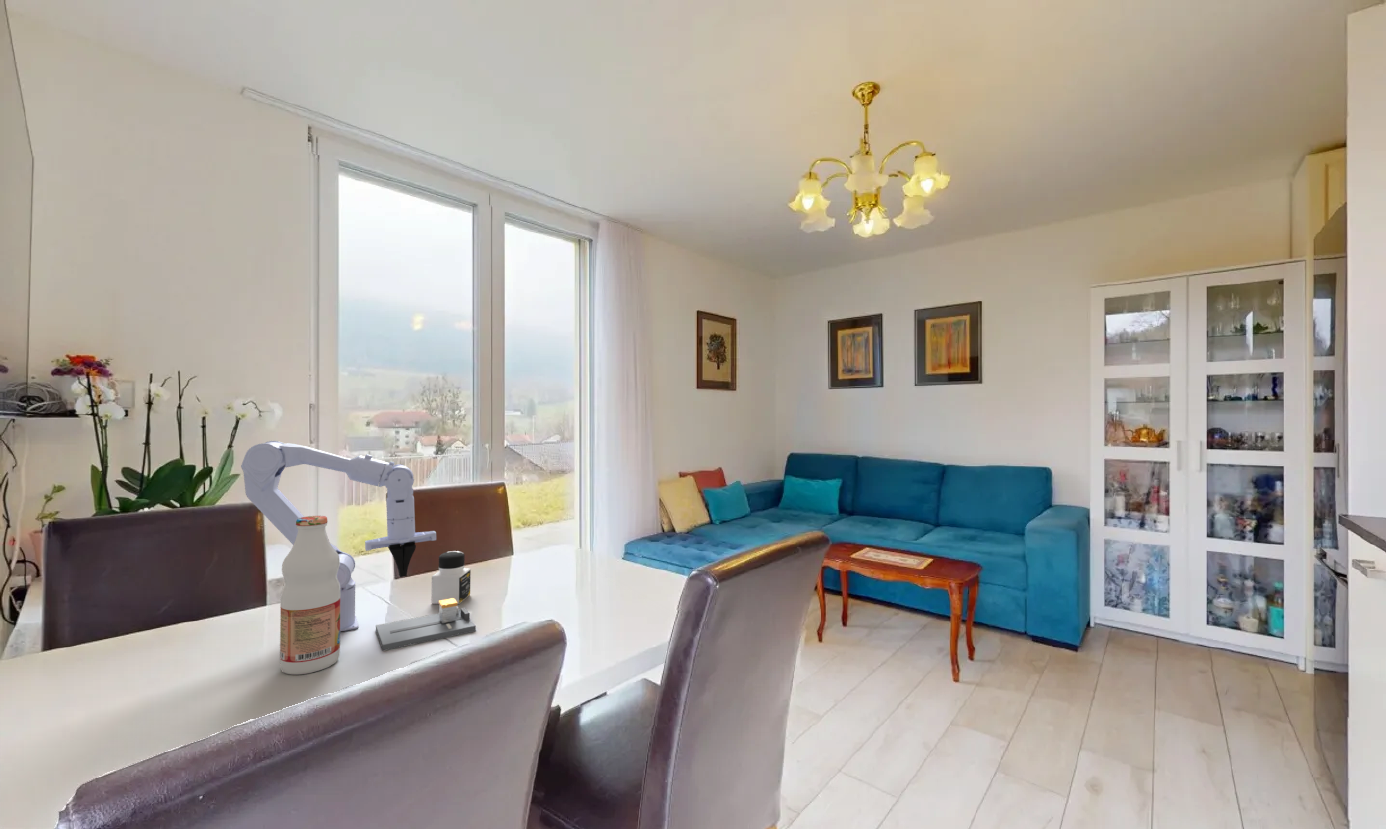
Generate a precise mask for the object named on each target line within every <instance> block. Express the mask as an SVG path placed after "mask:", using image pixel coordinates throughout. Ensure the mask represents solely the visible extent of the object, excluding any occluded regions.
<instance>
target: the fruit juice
mask: <svg viewBox="0 0 1386 829" xmlns="http://www.w3.org/2000/svg"><path fill="white" fill-rule="evenodd" d="M326 526H328V517H327V516H326V515H309V516H304V517H302V518H298V519H297V520H296V528H297V529H298V534H297V537H296V540H295V542H294V545H293V544H292V548H291V549H290V551H289V552H288V554H287V555H286V557H284V559H283V561H282V565H281V574H282V577H283V580H284V585H283V587H282V590H281V594H280V601H279V602H280V603H279V604H280V605H279V606H280V616H279V617H280V619H279V620H280V627H279V628H280V632H279V633H280V634H279V635H280V636H279V640H280V641H279V642H280V643H279V646H280V647H279V648H280V649H279V666H280V670H281V672H283V673H284V674H287V675H296V676H297V675H305V674H306V675H307V674H311V673H315V672H318V671H322V670H324V669H327V668H328V667H331V666H332V665H335V663H337V661H339V658H340V653H341V631H340V595H341V594H340V583H339V581H338V579H337V572H338V569H339V565H340V558H339V555H338V553H337V552H336V551H335V549H334V548H333V547H332V546H331V544H332V543H331V542H330V540H329V538H328V533H327V530H326ZM330 543H331V544H330Z"/></svg>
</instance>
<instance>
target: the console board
mask: <svg viewBox="0 0 1386 829" xmlns="http://www.w3.org/2000/svg"><path fill="white" fill-rule="evenodd" d="M470 617H471V615H470V611H469V610H468V609H467V607H461V608H459V605H457V612H456V621H452V622H446V623H441V621H440V620H439V612H438V613H434V614H429V615H424V616H418V617H417V616H416V617H412V618H406V619H402V620H396V621H391V622H385V623H380V624H376V625H375V632H376V635H377V638H378V641H379V644H380V647H381V649H382V651H388V650H392V649H397V648H401V647H408V646H410V645H411V646H413V645H416V644H420V643H425V642H426V643H427V642H430V641H435V640H440V639H444V638H450V637H453V636H458V635H459V636H460V635H464V634H468V633H473V632H476V631H477V630H476V629H477V626H476V624H475V622H474V621H473V620H472V619H471V618H470Z"/></svg>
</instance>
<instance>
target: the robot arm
mask: <svg viewBox="0 0 1386 829" xmlns="http://www.w3.org/2000/svg"><path fill="white" fill-rule="evenodd" d="M300 465H308V466H312V467H316V468H317V467H318V468H323V469H328V470H332V471H335V472H339V473H340V472H341V473H345V474H346V475H347V477H348V478H349V480H350V481H354V482H359V483H362V484H366V485H370V486H375V487H378V488H379V487H380V488H381V487H385V488H386V492H387V493H386V496H387V498H386V500H385V501H386V504H385V505H386V532H387V534H386V535H387V536H383V537H378V538H372V539H368V540H365V541H364V546H365V547H364V548H365V551H366V552H367V551H372V550H376V549H383V548H388V551H389V552H390V553H391V555H392V558H393V560H394V561H395V564H396V568H397V571H398V576H399V578H404V577H407V576H408V569H409V565H410V562H411V559H412V557H413V554H414V552H415V551H416V548H417V545H416V543H417V544H418V543H423V542H429V541H431V542H433V541H437V532H436V531H435V530H430V531H420V532H419V531H418V532H416V520H415V517H416V515H415V514H416V513H415V497H414V488H413V485H414V482H415V479H414V472H413V470H412V469H411V468H410V467H408V466H407V465H404V464H403V463H402V464H401V463H400V464H399V463H398V464H395V461H391V460H390V461H389V462H387V461H383V460H381V459H375V458H373V455H372V454H365V455H364V456H363V455H357V456H356V457H355V456H354V457H353V458H348V457H345V456H341V455H338V454H335V453H331V452H327V451H324V450H320V449H316V448H313V447H309V446H307V445H302V444H298V443H297V444H296V443H291V442H286V443H285V442H281V441H279V440H269V441H266V442H263V443H257V444H255V445H253V446H251V447H249V449H248V450H247V451H246V452H245V455H244V457H243V460H242V463H241V465H240V468H241V470H242V473H243V480H244V481H243V482H244V490H245V491H244V492H245V496H246V497H247V498H248V500H249V501H250V502H251V503H252V504H253V505H254V506H255V507H256V508H257V509H258V510H259V511H260V512H261V514H262V515H264V516H265V517H266V518H267V519H268V521H269V522H271V524H272V525H274V527H275V528H276V529H277V530H278V531H279V532H280V533H281V534H282V535H283V536H284V538H286V539H287V540H288V542H289V543H291V545H292V546H293V545H294V542H295V540H296V537H297V534H298V529H297V528H296V520H297V519H298V518H302V517H305V516H304V515H303V514H302V512H301V511H300V510H299V509H298V508H297V507H296V506H295V505H294V504H293V503H292V502H291V501H290V499H289V498H287V497H286V496H285V494H284V493H283V492H282V491H281V490H280V489H279V483H280V480H281V477H282V474H283V471H284V469H286V468H291V467H295V466H300ZM330 544H331V546H332V547H333V548H334V549H335V551H336V552H337V553H338V555H339V558H340V565H339V569H338V572H337V579H338V581H339V583H340V594H341V595H340V632H344V631H350V630H351V631H352V630H356V629H358V628H359V622H358V619H357V616H356V581H355V580H354V579H353V578H352V574H353V572H354V571H355V568H356V561H355V558H354V557H353V556H352V555H351V554H349V553H347V552H344V551H342V550H340V549H339V548H338V547H337V545H334V544H333V543H331V542H330Z"/></svg>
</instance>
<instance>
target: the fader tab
mask: <svg viewBox="0 0 1386 829" xmlns="http://www.w3.org/2000/svg"><path fill="white" fill-rule="evenodd" d="M457 606H458V604H457V602H456V600H455V599H454V598H451V599H445V600H439V604H438V607H439V610H438V611H439V612H438V613H439V620H440V621H441V623H446V622H452V621H456V612H457Z"/></svg>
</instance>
